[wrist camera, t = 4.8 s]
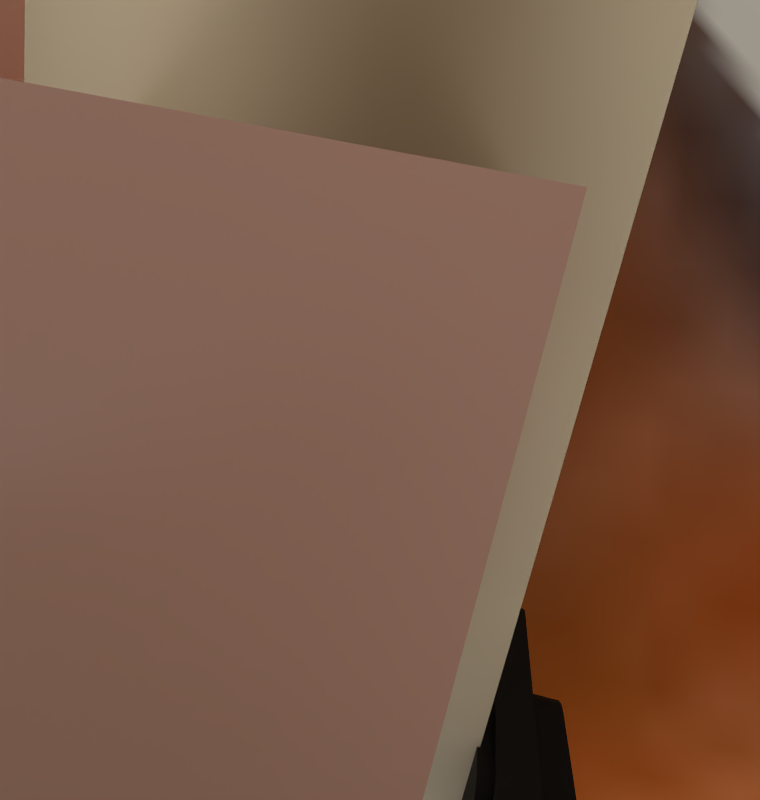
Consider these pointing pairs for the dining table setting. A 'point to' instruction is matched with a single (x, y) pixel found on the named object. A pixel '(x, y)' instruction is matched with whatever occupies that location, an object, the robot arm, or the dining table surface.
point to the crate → (249, 446)
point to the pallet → (435, 138)
